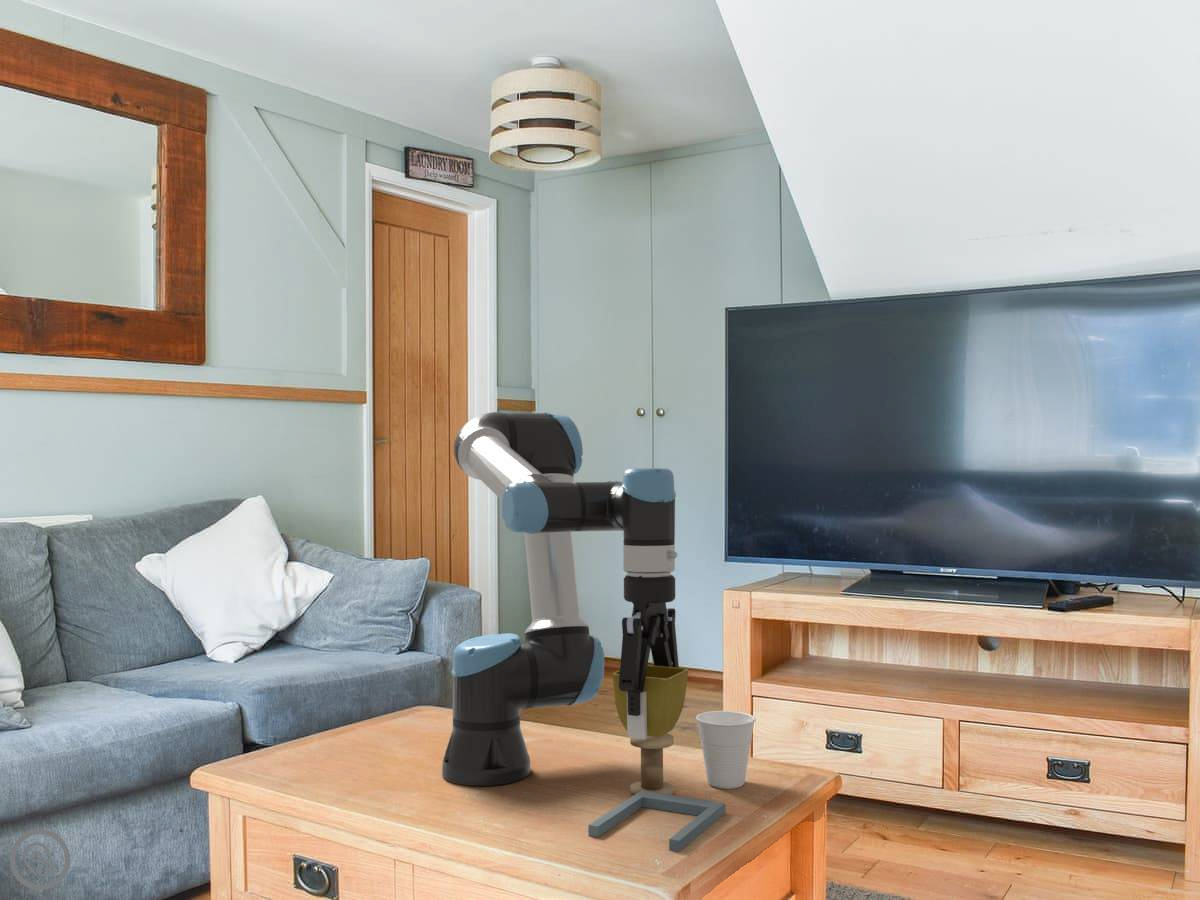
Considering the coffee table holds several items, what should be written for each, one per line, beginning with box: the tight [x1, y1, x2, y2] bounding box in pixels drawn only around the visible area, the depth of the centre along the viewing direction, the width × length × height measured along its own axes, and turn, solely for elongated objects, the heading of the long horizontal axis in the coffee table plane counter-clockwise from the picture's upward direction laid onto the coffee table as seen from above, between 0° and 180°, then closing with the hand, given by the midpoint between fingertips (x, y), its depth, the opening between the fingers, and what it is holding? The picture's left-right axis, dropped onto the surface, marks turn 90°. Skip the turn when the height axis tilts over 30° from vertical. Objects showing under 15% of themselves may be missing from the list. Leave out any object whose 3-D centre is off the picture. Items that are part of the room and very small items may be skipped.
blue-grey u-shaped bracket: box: [587, 790, 726, 853], centre depth 149 cm, size 18×14×2 cm
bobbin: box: [629, 732, 675, 797], centre depth 164 cm, size 7×7×9 cm
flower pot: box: [611, 664, 689, 738], centre depth 147 cm, size 9×9×9 cm
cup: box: [695, 710, 756, 790], centre depth 169 cm, size 10×10×11 cm
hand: (650, 730), depth 147 cm, fingers closed on flower pot, 8 cm apart
